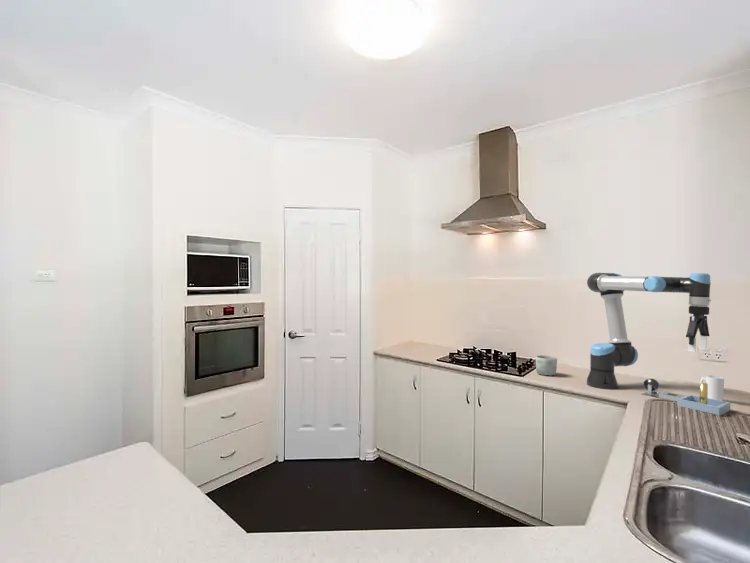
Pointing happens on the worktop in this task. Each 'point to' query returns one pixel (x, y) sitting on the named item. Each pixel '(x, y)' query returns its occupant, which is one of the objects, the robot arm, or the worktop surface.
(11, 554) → the worktop surface
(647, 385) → the tensioner
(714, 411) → the tray
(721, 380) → the mug
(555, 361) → the planter
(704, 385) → the pin
